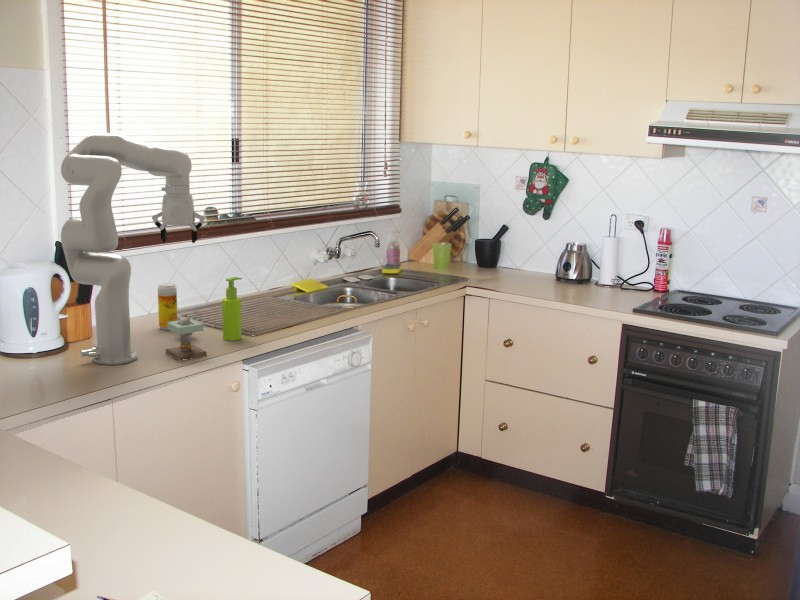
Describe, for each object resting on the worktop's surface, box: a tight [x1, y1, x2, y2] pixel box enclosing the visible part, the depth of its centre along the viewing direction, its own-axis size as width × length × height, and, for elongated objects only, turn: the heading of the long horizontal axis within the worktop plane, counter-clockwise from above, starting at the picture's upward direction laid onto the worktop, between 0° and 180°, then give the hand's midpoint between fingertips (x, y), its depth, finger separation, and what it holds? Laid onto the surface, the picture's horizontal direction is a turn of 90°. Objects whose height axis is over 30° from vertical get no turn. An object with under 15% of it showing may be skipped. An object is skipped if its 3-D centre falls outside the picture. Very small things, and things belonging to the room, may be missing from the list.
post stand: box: [165, 316, 208, 361], centre depth 262 cm, size 9×9×12 cm
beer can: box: [157, 282, 179, 331], centre depth 291 cm, size 6×6×15 cm
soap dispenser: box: [221, 276, 243, 341], centre depth 281 cm, size 6×7×20 cm
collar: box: [167, 318, 205, 335], centre depth 261 cm, size 8×8×2 cm
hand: (179, 242), depth 288 cm, fingers open, 9 cm apart
